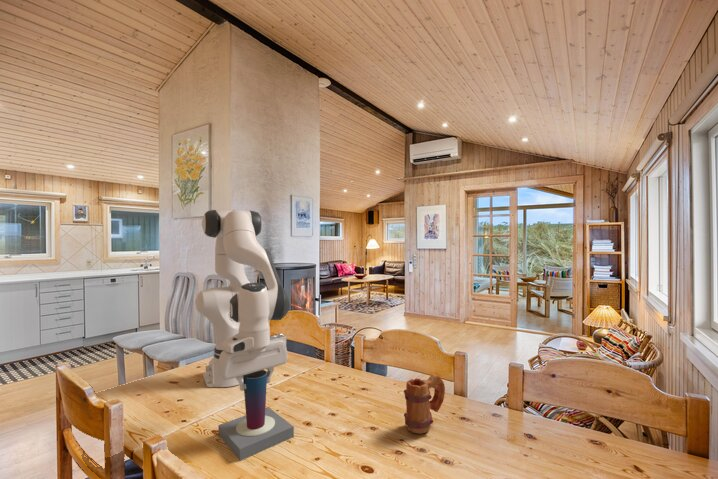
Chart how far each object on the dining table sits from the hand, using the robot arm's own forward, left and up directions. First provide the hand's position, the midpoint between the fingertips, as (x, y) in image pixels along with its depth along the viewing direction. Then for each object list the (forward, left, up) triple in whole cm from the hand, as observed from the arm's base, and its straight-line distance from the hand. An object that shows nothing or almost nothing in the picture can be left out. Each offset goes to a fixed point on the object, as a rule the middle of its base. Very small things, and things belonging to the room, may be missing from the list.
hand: (255, 386), depth 100 cm
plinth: (0, 0, -15) cm, 15 cm away
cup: (0, 0, -12) cm, 12 cm away
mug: (+31, +40, -15) cm, 53 cm away
